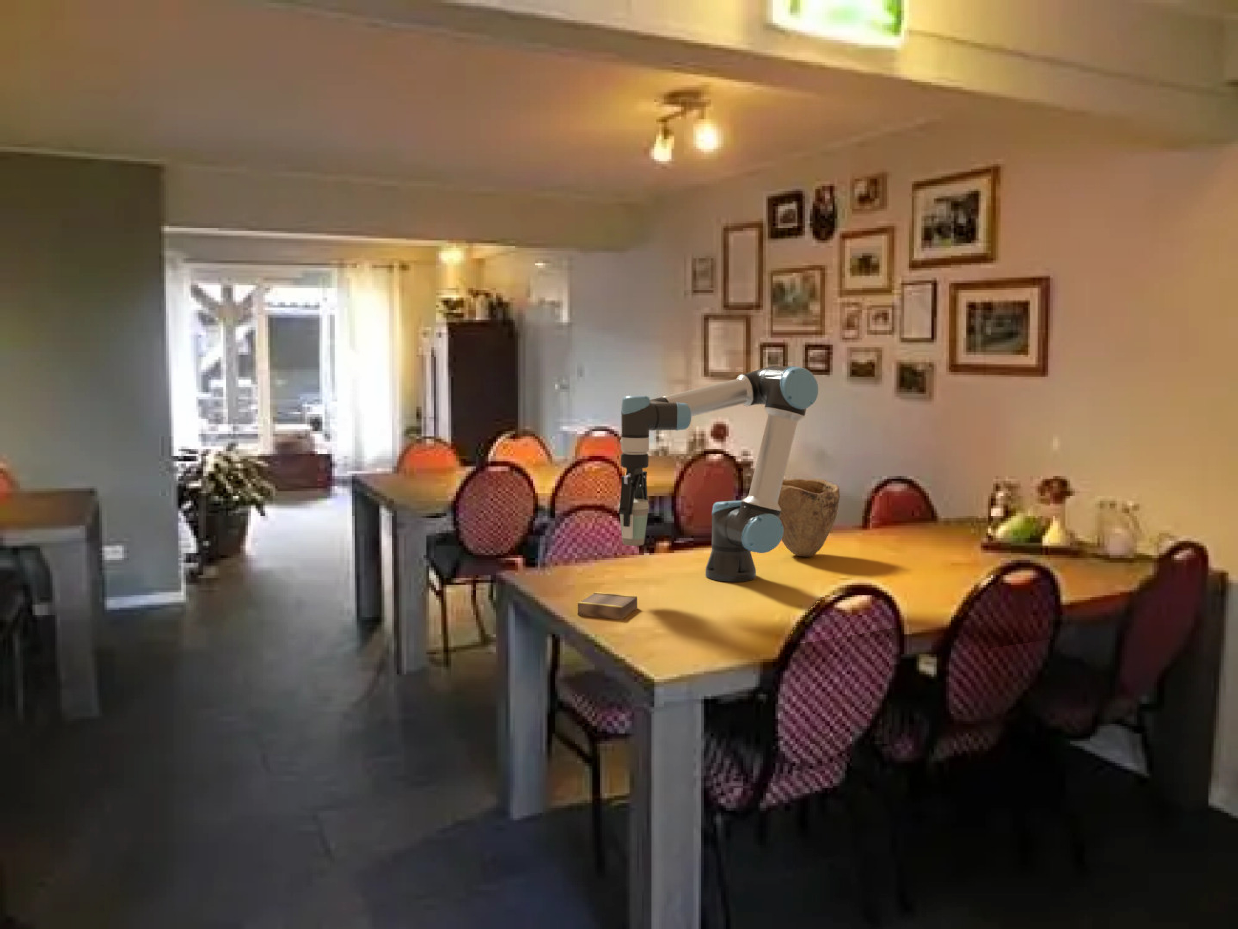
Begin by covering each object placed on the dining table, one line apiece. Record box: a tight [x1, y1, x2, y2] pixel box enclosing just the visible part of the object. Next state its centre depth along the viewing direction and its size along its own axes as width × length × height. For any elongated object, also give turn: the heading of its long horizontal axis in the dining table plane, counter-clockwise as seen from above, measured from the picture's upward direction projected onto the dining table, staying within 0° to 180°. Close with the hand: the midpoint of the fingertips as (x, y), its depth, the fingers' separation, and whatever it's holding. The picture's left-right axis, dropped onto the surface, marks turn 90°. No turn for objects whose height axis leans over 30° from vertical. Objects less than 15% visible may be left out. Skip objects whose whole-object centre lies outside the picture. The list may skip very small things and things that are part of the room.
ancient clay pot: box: [778, 478, 841, 558], centre depth 331 cm, size 22×22×25 cm
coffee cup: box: [618, 498, 650, 547], centre depth 274 cm, size 8×8×12 cm
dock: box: [577, 591, 638, 620], centre depth 262 cm, size 12×12×3 cm
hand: (633, 535), depth 274 cm, fingers closed on coffee cup, 8 cm apart
